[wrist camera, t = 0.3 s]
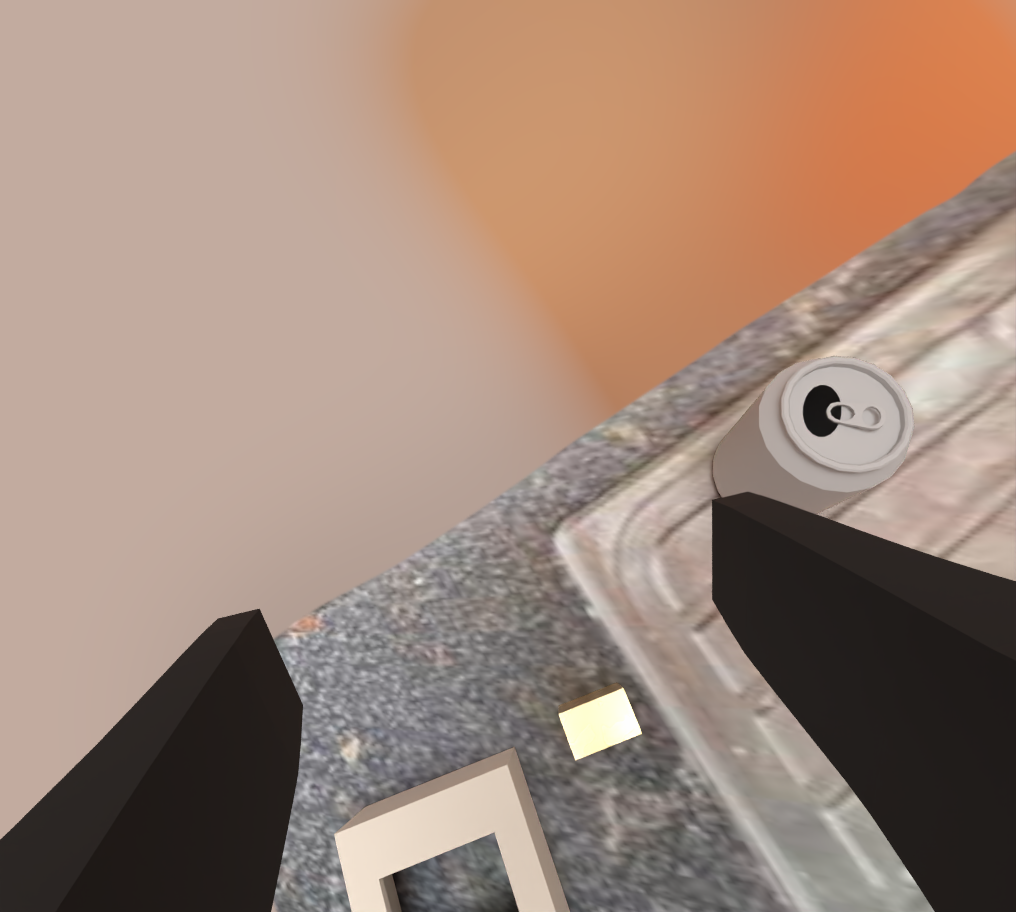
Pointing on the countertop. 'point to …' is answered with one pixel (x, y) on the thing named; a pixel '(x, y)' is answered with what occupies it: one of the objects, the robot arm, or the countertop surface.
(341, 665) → the countertop surface
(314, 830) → the countertop surface
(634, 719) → the block
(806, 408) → the can
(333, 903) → the countertop surface
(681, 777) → the countertop surface
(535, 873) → the box
